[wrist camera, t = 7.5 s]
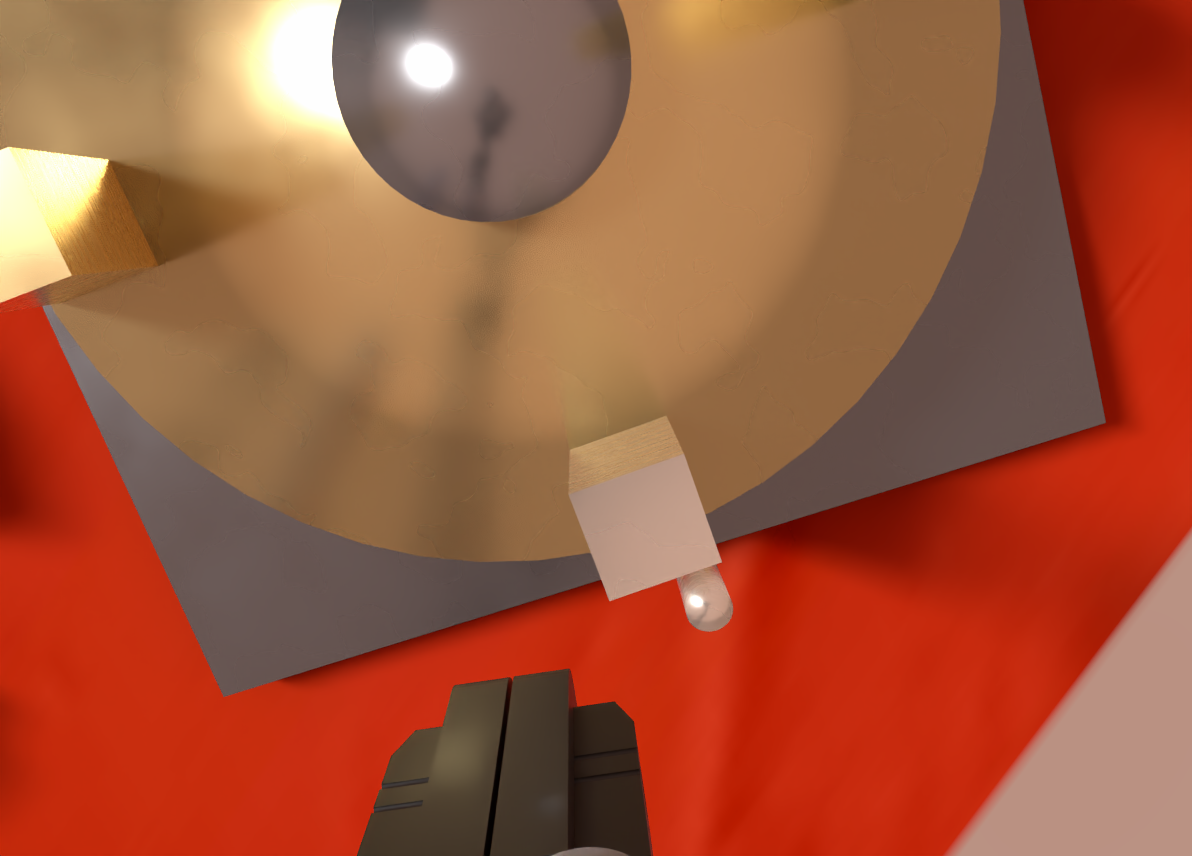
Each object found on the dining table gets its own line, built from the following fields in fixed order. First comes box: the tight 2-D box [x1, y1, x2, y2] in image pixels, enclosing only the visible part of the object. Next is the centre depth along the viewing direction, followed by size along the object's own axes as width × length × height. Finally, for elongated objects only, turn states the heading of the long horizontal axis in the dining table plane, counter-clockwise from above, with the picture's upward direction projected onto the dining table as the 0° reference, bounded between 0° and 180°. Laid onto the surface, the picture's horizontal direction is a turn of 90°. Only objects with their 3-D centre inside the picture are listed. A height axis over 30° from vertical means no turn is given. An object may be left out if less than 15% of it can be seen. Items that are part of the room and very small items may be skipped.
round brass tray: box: [0, 0, 1001, 601], centre depth 19 cm, size 22×22×6 cm
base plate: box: [42, 0, 1106, 697], centre depth 20 cm, size 26×26×8 cm
